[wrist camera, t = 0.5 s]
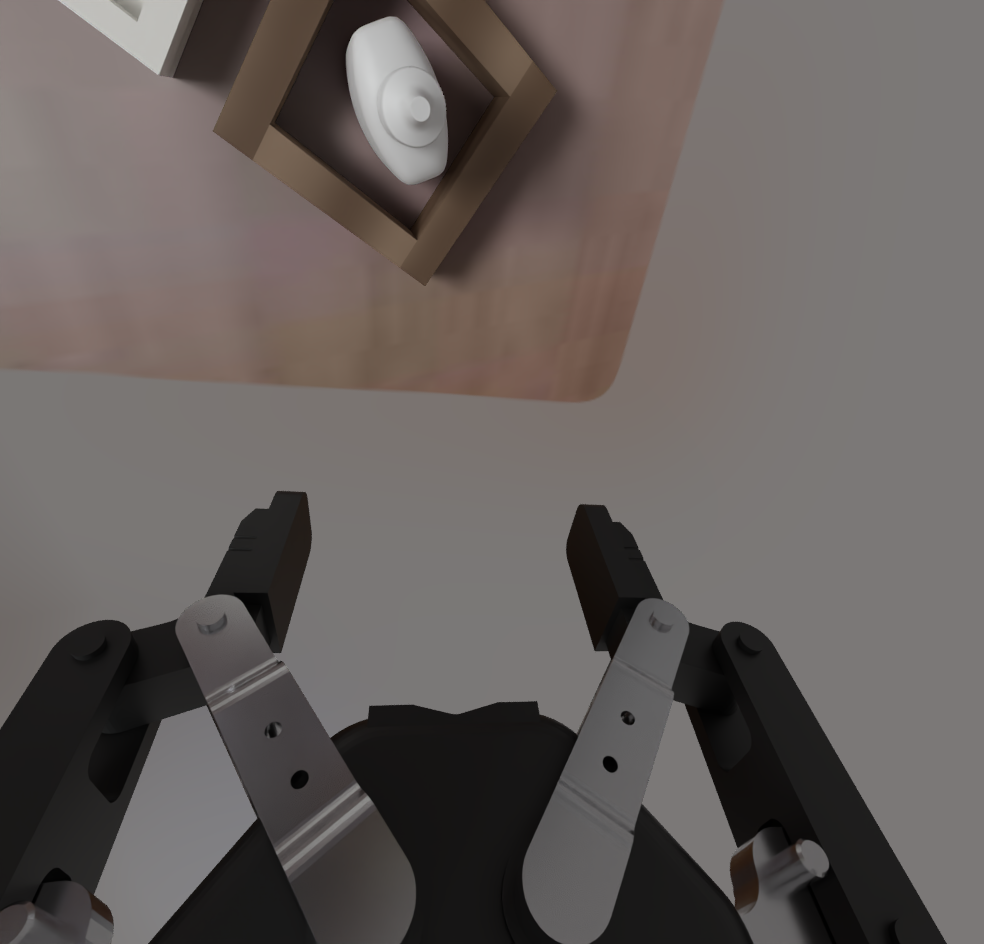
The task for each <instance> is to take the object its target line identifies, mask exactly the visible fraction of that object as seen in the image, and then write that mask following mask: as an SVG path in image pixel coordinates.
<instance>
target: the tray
mask: <svg viewBox="0 0 984 944" xmlns="http://www.w3.org/2000/svg"><path fill="white" fill-rule="evenodd" d="M59 1H60V2H61V3H63V4H64V5H65V6H67V7H68V8H69V9H71V10H72V11H73V12H75V13H76V14H77V15H79V16H80V17H81V18H83V19H84V20H85V21H87V22H88V23H89V24H91V25H92V26H93V27H95V28H96V29H97V30H99V31H100V32H101V33H103V34H104V35H105V36H107V37H108V38H109V39H111V40H112V41H113V42H115V43H116V44H117V45H119V46H120V47H121V48H123V49H124V50H125V51H127V52H128V53H129V54H131V55H132V56H133V57H135V58H136V59H138V60H139V61H140V62H142V63H143V64H144V65H146V66H147V67H148V68H150V69H151V70H152V71H154V72H155V73H156V74H158V75H160V76H166V77H172V78H173V76H174V73H175V71H176V68H177V66H178V63H179V61H180V58H181V56H182V53H183V50H184V48H185V45H186V43H187V40H188V38H189V35H190V33H191V30H192V28H193V25H194V23H195V20H196V17H197V15H198V12H199V10H200V7H201V5H202V2H203V0H59Z"/></svg>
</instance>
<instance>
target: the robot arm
mask: <svg viewBox="0 0 984 944" xmlns="http://www.w3.org/2000/svg"><path fill="white" fill-rule="evenodd" d="M311 541H312V531H311V523H310V516H309V507H308V498H307V494H306V492H290V491H277V492H276V494H275V496H274V498H273V500H272V503H271V505H270V507H269V509H255V510H254V511H252V512H251V513H250V514H249V515H248V516H247V517H245V519H243V520H242V521H241V523H240V525H239V527H238V529H237V531H236V533H235V536H234V539H233V540H232V542H231V544H230V546H229V550H228V551H227V552H226V554H225V557H224V558H223V561H222V563H221V565H220V567H219V569H218V571H217V573H216V575H215V578H214V579H213V582H212V584H211V586H210V588H209V590H208V592H207V594H206V596H205V598H203V599H201V600H198V601H197V602H195V603H193V604H192V605H190V606H189V607H188V608H187V609H186V610H184V612H183V613H182V614H181V615H180V617H179V618H178V619H176V620H174V621H171V622H167V623H164V624H160V625H156V626H152V627H148V628H144V629H139V630H135V631H130V629H129V628H128V627H127V625H125V624H124V623H121V622H119V621H115V620H102V621H96V622H92V623H89V624H86V625H84V626H81V627H79V628H77V629H75V630H73V631H72V632H70V633H69V634H67V635H66V636H64V637H63V638H62V639H61V640H60V641H59V642H58V643H57V644H56V645H55V646H54V647H53V649H52V650H51V651H50V653H49V654H48V656H47V658H46V659H45V661H44V662H43V664H42V665H41V667H40V669H39V670H38V672H37V673H36V675H35V676H34V678H33V679H32V681H31V682H30V684H29V686H28V687H27V689H26V690H25V692H24V693H23V695H22V696H21V698H20V700H19V701H18V703H17V704H16V706H15V707H14V709H13V710H12V712H11V714H10V715H9V717H8V718H7V720H6V721H5V723H4V724H3V726H2V727H1V729H0V944H111V941H112V937H113V929H114V923H113V916H112V913H111V911H110V909H109V908H108V906H107V905H106V904H105V903H103V902H102V901H101V900H100V899H98V898H97V897H96V896H94V893H95V890H96V888H97V885H98V882H99V880H100V877H101V875H102V872H103V869H104V867H105V864H106V862H107V859H108V857H109V854H110V851H111V849H112V846H113V844H114V841H115V839H116V836H117V833H118V831H119V828H120V826H121V823H122V820H123V818H124V815H125V813H126V810H127V808H128V805H129V803H130V800H131V797H132V795H133V792H134V790H135V787H136V784H137V782H138V779H139V777H140V774H141V771H142V769H143V766H144V764H145V761H146V758H147V756H148V754H149V751H150V748H151V746H152V743H153V741H154V738H155V736H156V733H157V730H158V728H159V725H160V723H161V720H162V719H164V718H167V717H171V716H174V715H177V714H180V713H183V712H186V711H190V710H193V709H196V708H199V707H202V706H205V705H207V707H208V709H209V712H210V714H211V716H212V718H213V721H214V723H215V725H216V727H217V730H218V732H219V734H220V736H221V738H222V741H223V743H224V745H225V747H226V749H227V752H228V754H229V756H230V758H231V760H232V763H233V765H234V767H235V770H236V772H237V774H238V776H239V778H240V781H241V783H242V785H243V788H244V790H245V792H246V794H247V797H248V799H249V801H250V803H251V806H252V808H253V810H254V812H255V814H256V816H257V820H256V821H255V822H254V823H253V824H252V825H251V826H250V827H249V829H248V830H247V831H246V832H245V833H244V834H243V836H242V837H241V838H240V839H239V840H238V841H237V842H236V844H235V845H234V846H233V847H232V848H231V849H230V850H229V852H228V853H227V854H226V855H225V856H224V857H223V858H222V860H221V861H220V862H219V863H218V864H217V865H216V866H215V868H214V869H213V870H212V871H211V872H210V873H209V874H208V876H207V877H206V878H205V879H204V880H203V881H202V882H201V884H200V885H199V886H198V887H197V888H196V889H195V890H194V892H193V893H192V894H191V895H190V896H189V897H188V899H187V900H186V901H185V902H184V903H183V904H182V905H181V907H180V908H179V909H178V910H177V911H176V912H175V913H174V915H173V916H172V917H171V918H170V919H169V920H168V921H167V923H166V924H165V925H164V926H163V927H162V928H161V929H160V931H159V932H158V933H157V934H156V935H155V936H154V938H153V939H152V940H151V941H150V942H149V943H148V944H947V943H946V942H945V940H944V938H943V936H942V935H941V933H940V931H939V930H938V928H937V926H936V925H935V923H934V921H933V919H932V918H931V916H930V914H929V912H928V911H927V909H926V907H925V905H924V904H923V902H922V900H921V899H920V897H919V895H918V893H917V892H916V890H915V888H914V887H913V885H912V883H911V881H910V880H909V878H908V876H907V874H906V873H905V871H904V869H903V868H902V866H901V864H900V862H899V861H898V859H897V857H896V856H895V854H894V852H893V850H892V849H891V847H890V845H889V843H888V842H887V840H886V838H885V836H884V835H883V833H882V831H881V830H880V828H879V826H878V824H877V823H876V821H875V819H874V817H873V816H872V814H871V812H870V811H869V809H868V807H867V806H866V804H865V802H864V800H863V799H862V797H861V795H860V793H859V792H858V790H857V788H856V786H855V785H854V783H853V781H852V780H851V778H850V776H849V774H848V773H847V771H846V770H845V768H844V766H843V764H842V762H841V761H840V759H839V757H838V755H837V754H836V752H835V750H834V749H833V747H832V745H831V743H830V742H829V740H828V738H827V736H826V735H825V733H824V731H823V730H822V728H821V726H820V725H819V723H818V721H817V719H816V718H815V716H814V714H813V712H812V711H811V709H810V707H809V705H808V704H807V702H806V701H805V699H804V697H803V695H802V694H801V692H800V690H799V688H798V687H797V685H796V683H795V681H794V680H793V678H792V676H791V675H790V673H789V671H788V669H787V668H786V666H785V664H784V662H783V661H782V659H781V657H780V656H779V654H778V652H777V650H776V649H775V647H774V645H773V644H772V642H771V641H770V640H769V639H768V638H767V637H766V636H765V635H764V634H763V633H762V632H761V631H759V630H758V629H756V628H754V627H752V626H751V625H748V624H745V623H742V622H730V623H727V624H725V625H724V626H723V628H722V629H721V631H720V632H719V631H716V630H712V629H708V628H705V627H702V626H698V625H695V624H692V623H689V622H688V621H687V620H686V618H685V616H684V615H683V614H682V612H681V611H680V610H679V609H678V608H676V607H675V606H674V605H672V604H670V603H669V602H666V601H664V600H663V598H662V596H661V594H660V592H659V590H658V588H657V586H656V584H655V582H654V579H653V577H652V575H651V573H650V571H649V569H648V567H647V565H646V563H645V561H643V557H642V554H641V552H640V550H638V546H637V544H636V542H635V539H634V537H633V535H632V534H631V533H630V532H629V531H628V530H627V529H626V528H625V527H624V526H623V525H622V524H621V523H620V522H612V519H611V517H610V515H609V513H608V510H607V508H606V507H605V506H604V505H586V504H585V505H584V504H581V505H579V506H578V508H577V511H576V514H575V517H574V520H573V523H572V526H571V530H570V533H569V536H568V539H567V546H566V554H567V560H568V563H569V567H570V570H571V573H572V577H573V580H574V583H575V586H576V590H577V593H578V597H579V600H580V603H581V607H582V610H583V613H584V617H585V620H586V624H587V627H588V630H589V634H590V637H591V640H592V644H593V647H594V650H595V651H609V654H610V658H611V661H610V663H609V665H608V667H607V669H606V671H605V673H604V676H603V678H602V680H601V682H600V684H599V686H598V689H597V691H596V693H595V695H594V697H593V699H592V702H591V704H590V706H589V708H588V710H587V712H586V715H585V717H584V719H583V721H582V723H581V725H580V727H579V729H578V732H577V734H576V733H574V732H573V731H572V730H571V729H569V728H568V727H566V726H565V725H563V724H562V723H560V722H558V721H556V720H554V719H551V718H549V717H546V716H543V715H540V714H539V710H538V703H537V701H536V702H535V701H534V702H498V703H494V704H491V705H488V706H484V707H481V708H478V709H475V710H472V711H468V712H465V713H461V714H449V713H445V712H441V711H436V710H432V709H428V708H424V707H420V706H415V705H386V706H385V705H384V706H369V716H368V719H366V720H363V721H360V722H358V723H355V724H353V725H351V726H348V727H347V728H345V729H343V730H341V731H340V732H338V733H337V734H335V735H334V736H333V737H331V738H330V737H329V736H328V734H327V732H326V731H325V729H324V727H323V726H322V724H321V722H320V721H319V719H318V717H317V716H316V714H315V712H314V711H313V709H312V707H311V706H310V704H309V702H308V701H307V699H306V697H305V696H304V694H303V693H302V691H301V689H300V688H299V686H298V684H297V683H296V681H295V679H294V678H293V676H292V674H291V673H290V671H289V669H288V668H287V667H286V665H285V664H284V663H283V662H282V661H280V662H278V660H277V659H276V658H275V656H274V654H273V653H281V651H282V648H283V644H284V641H285V637H286V634H287V630H288V627H289V624H290V620H291V616H292V613H293V610H294V606H295V602H296V599H297V595H298V592H299V589H300V585H301V582H302V578H303V574H304V571H305V568H306V564H307V561H308V557H309V554H310V549H311ZM673 700H675V701H678V702H681V703H684V704H685V706H686V709H687V712H688V714H689V717H690V720H691V723H692V725H693V728H694V730H695V734H696V736H697V739H698V742H699V744H700V747H701V750H702V753H703V755H704V758H705V761H706V763H707V766H708V769H709V772H710V774H711V777H712V779H713V782H714V785H715V788H716V791H717V793H718V796H719V799H720V801H721V804H722V807H723V810H724V812H725V815H726V818H727V820H728V823H729V826H730V829H731V831H732V834H733V837H734V839H735V842H736V845H737V847H738V849H737V850H736V851H735V852H734V854H733V856H732V858H731V862H730V876H731V880H732V885H733V893H734V897H735V907H734V906H733V904H732V903H731V901H730V900H729V899H728V897H727V896H726V895H725V894H724V892H723V891H722V890H721V889H720V888H719V887H718V886H717V885H716V884H715V883H714V881H713V880H712V879H711V878H710V877H709V876H708V875H707V874H706V873H705V872H704V870H703V869H702V868H701V867H700V866H699V865H698V864H697V863H696V862H695V861H694V860H693V859H692V858H691V856H690V855H689V854H688V853H687V852H686V851H685V850H684V849H683V848H682V847H681V846H680V844H678V842H677V841H676V840H675V839H674V838H673V837H672V836H671V835H670V834H669V833H668V831H667V830H666V829H665V828H664V827H663V826H662V825H661V824H660V823H659V822H658V821H657V820H656V818H655V817H654V816H653V815H652V814H651V813H650V812H649V811H648V810H647V809H646V808H645V807H644V805H642V800H643V797H644V794H645V791H646V787H647V784H648V781H649V777H650V774H651V771H652V767H653V764H654V761H655V758H656V754H657V751H658V748H659V744H660V741H661V738H662V734H663V731H664V728H665V725H666V721H667V718H668V715H669V711H670V708H671V705H672V701H673Z"/></svg>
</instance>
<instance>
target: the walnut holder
mask: <svg viewBox="0 0 984 944" xmlns="http://www.w3.org/2000/svg"><path fill="white" fill-rule="evenodd" d="M333 1H334V0H270V2H269V5H268V7H267V9H266V11H265V14H264V16H263V18H262V21H261V23H260V25H259V27H258V30H257V32H256V34H255V36H254V39H253V41H252V43H251V46H250V48H249V50H248V52H247V55H246V57H245V59H244V62H243V64H242V66H241V68H240V71H239V73H238V75H237V77H236V80H235V82H234V84H233V87H232V89H231V91H230V93H229V96H228V98H227V100H226V102H225V105H224V107H223V109H222V112H221V114H220V116H219V118H218V121H217V123H216V125H215V127H214V130H213V132H215V133H216V134H217V135H219V136H220V137H221V138H223V139H224V140H225V141H227V142H228V143H230V144H231V145H232V146H234V147H235V148H236V149H238V150H239V151H241V152H242V153H243V154H245V155H246V156H247V157H249V158H250V159H251V160H253V161H254V162H256V163H257V164H258V165H260V166H261V167H262V168H264V169H265V170H267V171H268V172H269V173H271V174H272V175H273V176H275V177H276V178H278V179H279V180H280V181H282V182H283V183H284V184H286V185H287V186H288V187H290V188H291V189H293V190H294V191H295V192H297V193H298V194H299V195H301V196H302V197H304V198H305V199H306V200H308V201H309V202H310V203H312V204H313V205H314V206H316V207H317V208H319V209H320V210H321V211H323V212H324V213H325V214H327V215H328V216H330V217H331V218H332V219H334V220H335V221H336V222H338V223H339V224H340V225H342V226H343V227H345V228H346V229H347V230H349V231H350V232H351V233H353V234H354V235H356V236H357V237H358V238H360V239H361V240H362V241H364V242H365V243H367V244H368V245H369V246H371V247H372V248H373V249H375V250H376V251H377V252H379V253H380V254H382V255H383V256H384V257H386V258H387V259H388V260H390V261H391V262H393V263H394V264H395V265H397V266H398V267H399V268H401V269H402V270H403V271H405V272H406V273H408V274H409V275H410V276H412V277H413V278H414V279H416V280H417V281H419V282H420V283H421V284H423V285H424V286H426V284H427V283H428V281H429V280H430V278H431V277H432V275H433V274H434V272H435V271H436V269H437V268H438V266H439V265H440V263H441V262H442V260H443V259H444V257H445V256H446V255H447V253H448V252H449V250H450V249H451V247H452V246H453V244H454V243H455V241H456V240H457V238H458V237H459V235H460V234H461V232H462V231H463V229H464V228H465V226H466V225H467V223H468V222H469V220H470V219H471V218H472V216H473V215H474V213H475V212H476V210H477V209H478V207H479V206H480V204H481V203H482V201H483V200H484V198H485V197H486V195H487V194H488V192H489V191H490V189H491V188H492V186H493V185H494V184H495V182H496V181H497V179H498V178H499V176H500V175H501V173H502V172H503V170H504V169H505V167H506V166H507V164H508V163H509V161H510V160H511V158H512V157H513V155H514V154H515V152H516V151H517V150H518V148H519V147H520V145H521V144H522V142H523V141H524V139H525V138H526V136H527V135H528V133H529V132H530V130H531V129H532V127H533V126H534V124H535V123H536V121H537V120H538V118H539V117H540V116H541V114H542V113H543V111H544V110H545V108H546V107H547V105H548V104H549V102H550V101H551V99H552V98H553V96H554V95H555V93H556V92H557V90H556V89H555V88H554V87H553V85H552V84H551V83H550V82H549V80H548V79H547V78H546V77H545V75H544V74H543V73H542V72H541V70H540V69H539V68H538V67H537V65H536V64H535V63H534V62H533V60H532V59H531V58H530V57H529V56H528V54H527V53H526V52H525V51H524V49H523V48H522V47H521V46H520V44H519V43H518V42H517V41H516V39H515V38H514V37H513V36H512V34H511V33H510V32H509V31H508V29H507V28H506V27H505V26H504V24H503V23H502V22H501V21H500V19H499V18H498V17H497V16H496V14H495V13H494V12H493V11H492V9H491V8H490V7H489V6H488V4H487V3H486V2H485V1H484V0H407V1H408V2H409V3H410V4H411V5H412V6H413V7H414V8H415V10H416V11H417V12H418V13H419V14H420V15H421V16H422V17H423V18H424V20H425V21H426V22H427V23H428V24H429V25H430V26H431V27H432V28H433V30H434V31H435V32H436V33H437V34H438V35H439V36H440V37H441V38H442V40H443V41H444V42H445V43H446V44H447V45H448V46H449V47H450V48H451V50H452V51H453V52H454V53H455V54H456V55H457V56H458V57H459V58H460V60H461V61H462V62H463V63H464V64H465V65H466V66H467V67H468V68H469V70H470V71H471V72H472V73H473V74H474V75H475V76H476V77H477V78H478V80H479V81H480V82H481V83H482V84H483V85H484V86H485V87H486V88H487V90H488V91H489V92H490V93H491V94H492V95H493V96H494V98H493V100H492V101H491V103H490V105H489V106H488V108H487V109H486V111H485V113H484V114H483V116H482V117H481V119H480V120H479V122H478V124H477V125H476V127H475V128H474V130H473V131H472V133H471V135H470V136H469V138H468V139H467V141H466V142H465V144H464V146H463V147H462V149H461V150H460V152H459V154H458V155H457V157H456V158H455V160H454V161H453V163H452V165H451V166H450V168H449V169H448V171H447V172H446V174H445V176H444V177H443V179H442V180H441V182H440V184H439V185H438V187H437V188H436V190H435V191H434V193H433V195H432V196H431V198H430V199H429V201H428V202H427V204H426V206H425V207H424V209H423V210H422V212H421V214H420V215H419V217H418V218H417V220H416V221H415V223H414V225H413V226H412V228H411V229H410V230H409V229H408V228H407V227H406V226H404V225H403V224H402V223H401V222H399V221H398V220H397V219H396V218H394V217H393V216H392V215H391V214H389V213H388V212H387V211H385V210H384V209H383V208H382V207H380V206H379V205H378V204H377V203H375V202H374V201H373V200H372V199H370V198H369V197H368V196H367V195H365V194H364V193H363V192H362V191H360V190H359V189H358V188H357V187H355V186H354V185H353V184H351V183H350V182H349V181H348V180H346V179H345V178H344V177H343V176H341V175H340V174H339V173H338V172H336V171H335V170H334V169H333V168H331V167H330V166H329V165H328V164H326V163H325V162H324V161H323V160H321V159H320V158H319V157H317V156H316V155H315V154H314V153H312V152H311V151H310V150H309V149H307V148H306V147H305V146H304V145H302V144H301V143H300V142H299V141H297V140H296V139H295V138H294V137H292V136H291V135H290V134H289V133H287V132H286V131H285V130H283V129H282V128H281V127H280V126H278V125H277V124H276V123H275V121H276V119H277V117H278V115H279V113H280V111H281V109H282V107H283V105H284V103H285V101H286V98H287V96H288V94H289V92H290V90H291V88H292V86H293V84H294V82H295V80H296V78H297V76H298V74H299V72H300V69H301V67H302V65H303V63H304V61H305V59H306V57H307V55H308V53H309V51H310V49H311V47H312V45H313V43H314V40H315V38H316V36H317V34H318V32H319V30H320V28H321V26H322V24H323V22H324V20H325V18H326V16H327V14H328V11H329V9H330V7H331V5H332V3H333Z"/></svg>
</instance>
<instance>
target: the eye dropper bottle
mask: <svg viewBox="0 0 984 944" xmlns="http://www.w3.org/2000/svg"><path fill="white" fill-rule="evenodd" d="M346 72H347V80H348V87H349V92H350V96H351V100H352V104H353V107H354V111H355V113H356V116H357V119H358V121H359V124H360V126H361V128H362V131H363V133H364V135H365V137H366V138H367V140H368V142H369V144H370V145H371V147H372V149H373V150H374V152H375V153H376V154H377V156H378V157H379V158H380V160H381V161H382V162H383V163H384V164H385V166H386V167H387V168H388V169H389V170H390V171H391V172H392V173H393V174H394V175H395V176H396V177H397V178H398V179H399V180H400V181H402V182H403V183H405V184H407V185H416V184H419V183H422V182H425V181H427V180H430V179H432V178H434V177H436V176H439V175H440V174H441V173H442V172H443V171H444V169H445V166H446V163H447V154H448V128H447V119H446V113H447V112H446V109H447V108H446V107H445V106H446V103H445V101H446V100H445V99H444V97H445V96H444V95H443V91H441V87H439V84H438V81H437V79H436V76H435V73H434V71H433V69H432V66H431V64H430V62H429V60H428V58H427V56H426V54H425V53H424V51H423V49H422V47H421V46H420V44H419V42H418V41H417V39H416V37H415V36H414V35H413V33H412V32H411V30H410V29H409V28H408V26H407V25H406V24H405V23H404V22H403V21H402V20H400V19H399V18H398V17H390V16H389V17H386V18H382V19H379V20H377V21H374V22H372V23H369V24H366V25H364V26H362V27H360V28H359V29H358V30H357V31H356V32H355V33H354V34H353V35H352V37H351V39H350V42H349V44H348V47H347V51H346Z"/></svg>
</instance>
